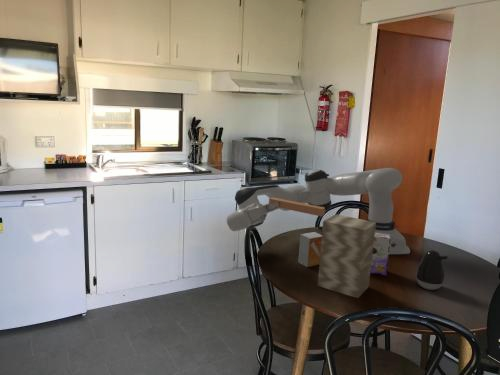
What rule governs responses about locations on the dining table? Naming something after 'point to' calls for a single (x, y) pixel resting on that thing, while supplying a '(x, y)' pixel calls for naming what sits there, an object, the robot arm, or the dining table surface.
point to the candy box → (380, 253)
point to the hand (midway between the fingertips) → (281, 202)
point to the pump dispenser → (431, 270)
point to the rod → (298, 206)
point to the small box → (310, 249)
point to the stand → (346, 254)
